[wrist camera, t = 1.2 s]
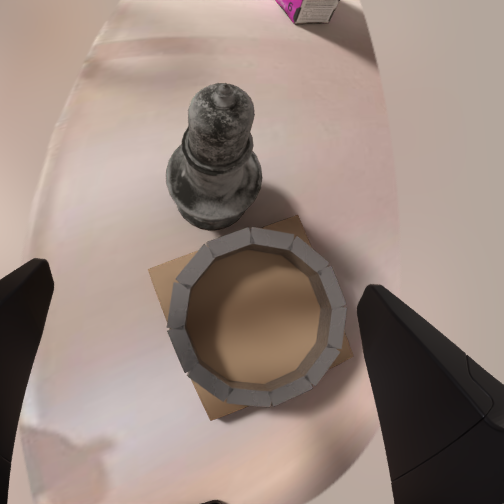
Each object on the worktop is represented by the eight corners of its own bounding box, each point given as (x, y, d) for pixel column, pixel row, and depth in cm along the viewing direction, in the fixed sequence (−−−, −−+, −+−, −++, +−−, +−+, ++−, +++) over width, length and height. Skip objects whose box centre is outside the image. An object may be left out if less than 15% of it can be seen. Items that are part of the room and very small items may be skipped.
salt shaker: (262, 171, 23) (314, 61, 11) (239, 245, 22) (281, 174, 10) (187, 147, 23) (183, 24, 11) (158, 219, 21) (118, 126, 10)
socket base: (346, 354, 22) (367, 360, 19) (210, 415, 19) (211, 431, 16) (293, 219, 23) (307, 205, 20) (150, 271, 21) (142, 265, 17)
